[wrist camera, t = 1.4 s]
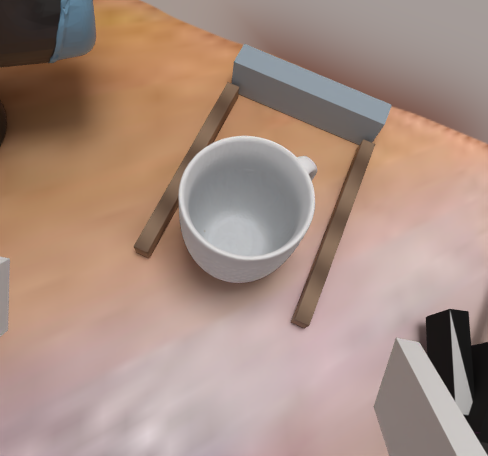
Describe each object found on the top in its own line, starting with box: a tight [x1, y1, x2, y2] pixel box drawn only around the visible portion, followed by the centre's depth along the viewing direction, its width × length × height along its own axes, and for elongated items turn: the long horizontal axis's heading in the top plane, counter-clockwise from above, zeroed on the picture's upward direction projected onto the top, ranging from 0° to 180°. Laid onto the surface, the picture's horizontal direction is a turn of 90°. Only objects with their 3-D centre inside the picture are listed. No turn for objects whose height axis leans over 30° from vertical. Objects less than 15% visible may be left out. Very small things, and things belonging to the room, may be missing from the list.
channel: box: [134, 82, 375, 328], centre depth 47 cm, size 23×19×2 cm
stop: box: [232, 44, 391, 145], centre depth 50 cm, size 3×18×5 cm, turn 67°
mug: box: [178, 136, 317, 283], centre depth 40 cm, size 15×11×13 cm
